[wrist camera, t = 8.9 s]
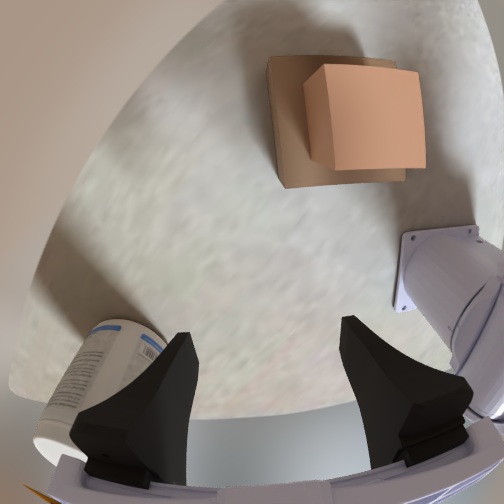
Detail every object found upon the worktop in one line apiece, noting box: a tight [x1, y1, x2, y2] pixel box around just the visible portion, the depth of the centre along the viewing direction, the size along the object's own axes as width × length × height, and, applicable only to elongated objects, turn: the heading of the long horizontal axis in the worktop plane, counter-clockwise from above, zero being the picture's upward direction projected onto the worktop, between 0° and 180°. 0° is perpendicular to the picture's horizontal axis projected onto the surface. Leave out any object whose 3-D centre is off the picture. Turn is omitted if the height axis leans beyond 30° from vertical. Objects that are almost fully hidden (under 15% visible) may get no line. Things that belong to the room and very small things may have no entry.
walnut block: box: [266, 55, 406, 189], centre depth 17 cm, size 8×8×4 cm
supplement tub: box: [33, 319, 167, 467], centre depth 20 cm, size 10×10×15 cm
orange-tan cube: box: [303, 64, 426, 171], centre depth 13 cm, size 5×5×5 cm
